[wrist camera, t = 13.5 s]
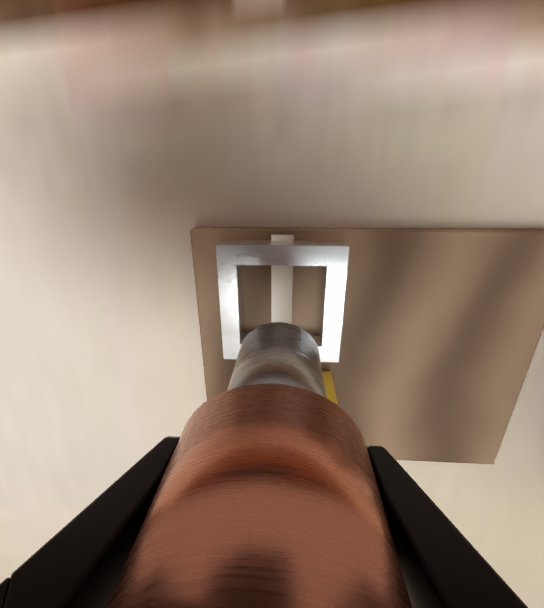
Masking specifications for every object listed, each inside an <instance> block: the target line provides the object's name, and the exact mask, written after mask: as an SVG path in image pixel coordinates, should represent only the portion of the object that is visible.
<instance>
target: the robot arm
mask: <svg viewBox="0 0 544 608" xmlns="http://www.w3.org/2000/svg"><path fill="white" fill-rule="evenodd" d="M179 439H180V437H171V436H168V437H166V438H164V439H163V440H162V441H161V442H159V443H158V444H157V445H156V446H155V447H154V448H153V449H152V450H150V451H149V452H148V453H147V454H146V455H145V456H144V457H143V458H141V459H140V460H139V461H138V462H137V463H136V464H135V465H134V466H132V467H131V468H130V469H129V470H128V471H127V472H126V473H125V474H123V475H122V476H121V477H120V478H119V479H118V480H117V481H116V482H114V483H113V484H112V485H111V486H110V487H109V488H108V489H107V490H105V491H104V492H103V493H102V494H101V495H100V496H99V497H98V498H96V499H95V500H94V501H93V502H92V503H91V504H90V505H89V506H87V507H86V508H85V509H84V510H83V511H82V512H81V513H80V514H78V515H77V516H76V517H75V518H74V519H73V520H72V521H71V522H69V523H68V524H67V525H66V526H65V527H64V528H63V529H62V530H60V531H59V532H58V533H57V534H56V535H55V536H54V537H53V538H51V539H50V540H49V541H48V542H47V543H46V544H45V545H44V546H42V547H41V548H40V549H39V550H38V551H37V552H36V553H35V554H33V555H32V556H31V557H30V558H29V559H28V560H27V561H26V562H24V563H23V564H22V565H21V566H20V567H19V568H18V569H17V570H15V571H14V572H13V573H12V575H11V578H6V579H5V580H4V581H3V582H2V583H1V584H0V608H106V607H107V604H108V602H109V600H110V597H111V595H112V593H113V591H114V588H115V586H116V584H117V581H118V579H119V577H120V574H121V572H122V570H123V568H124V565H125V563H126V561H127V558H128V556H129V554H130V551H131V549H132V547H133V545H134V542H135V540H136V538H137V535H138V533H139V531H140V528H141V526H142V524H143V522H144V519H145V517H146V515H147V512H148V510H149V508H150V505H151V503H152V501H153V499H154V496H155V494H156V492H157V489H158V487H159V485H160V483H161V480H162V478H163V476H164V473H165V471H166V469H167V466H168V464H169V462H170V460H171V457H172V455H173V453H174V450H175V448H176V446H177V443H178V441H179ZM366 447H367V451H368V454H369V458H370V461H371V465H372V468H373V472H374V475H375V479H376V482H377V486H378V489H379V493H380V496H381V500H382V503H383V507H384V510H385V514H386V517H387V521H388V524H389V528H390V531H391V535H392V538H393V542H394V545H395V549H396V552H397V556H398V559H399V563H400V566H401V570H402V573H403V577H404V580H405V584H406V587H407V591H408V594H409V598H410V601H411V605H412V608H528V607H527V606H526V605H525V604H524V603H523V602H522V601H521V599H520V598H519V597H518V596H517V595H516V594H515V593H514V592H513V590H512V589H511V588H510V587H509V586H508V585H507V584H506V583H505V582H504V580H503V579H502V578H501V577H500V576H499V575H498V574H497V573H496V572H495V570H494V569H493V568H492V567H491V566H490V565H489V564H488V563H487V561H486V560H485V559H484V558H483V557H482V556H481V555H480V554H479V553H478V551H477V550H476V549H475V548H474V547H473V546H472V545H471V544H470V543H469V541H468V540H467V539H466V538H465V537H464V536H463V535H462V534H461V532H460V531H459V530H458V529H457V528H456V527H455V526H454V525H453V524H452V522H451V521H450V520H449V519H448V518H447V517H446V516H445V515H444V514H443V512H442V511H441V510H440V509H439V508H438V507H437V506H436V505H435V503H434V502H433V501H432V500H431V499H430V498H429V497H428V496H427V495H426V493H425V492H424V491H423V490H422V489H421V488H420V487H419V486H418V485H417V483H416V482H415V481H414V480H413V479H412V478H411V477H410V476H409V474H408V473H407V472H406V471H405V470H404V469H403V468H402V467H401V466H400V464H399V463H398V462H397V461H396V460H395V459H394V458H393V457H392V456H391V454H390V453H389V452H388V451H387V450H386V449H385V448H384V447H382V446H370V445H368V446H366Z"/></svg>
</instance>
